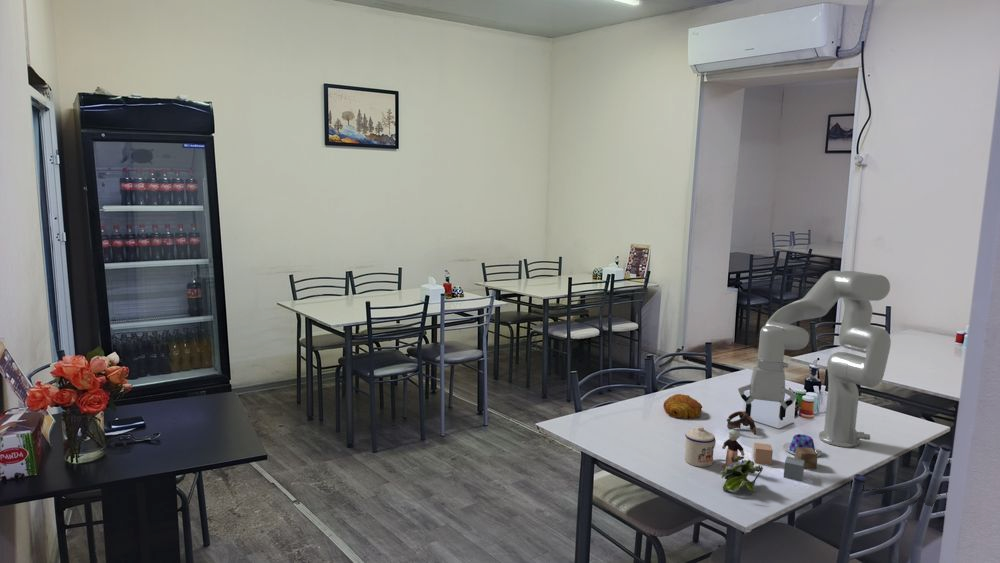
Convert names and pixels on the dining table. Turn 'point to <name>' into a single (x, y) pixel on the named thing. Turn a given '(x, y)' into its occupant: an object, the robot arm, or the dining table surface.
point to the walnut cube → (807, 457)
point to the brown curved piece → (741, 421)
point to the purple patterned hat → (801, 444)
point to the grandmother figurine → (732, 447)
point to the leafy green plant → (739, 474)
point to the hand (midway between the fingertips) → (764, 417)
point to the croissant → (682, 406)
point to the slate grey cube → (794, 468)
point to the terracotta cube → (762, 453)
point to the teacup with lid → (699, 447)
